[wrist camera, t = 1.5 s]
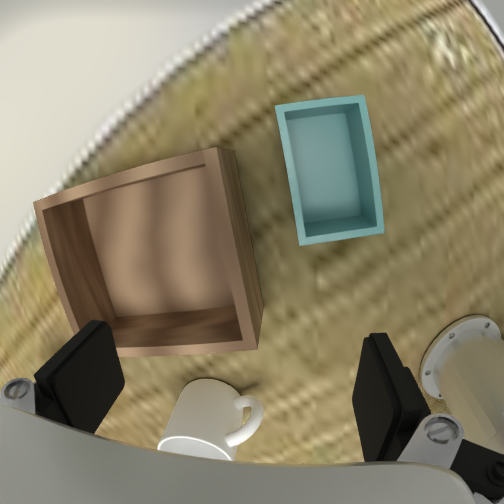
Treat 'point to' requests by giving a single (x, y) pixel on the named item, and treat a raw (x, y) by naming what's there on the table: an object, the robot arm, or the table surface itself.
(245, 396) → the mug
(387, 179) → the table surface
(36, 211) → the big crate
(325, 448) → the table surface
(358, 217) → the small crate
